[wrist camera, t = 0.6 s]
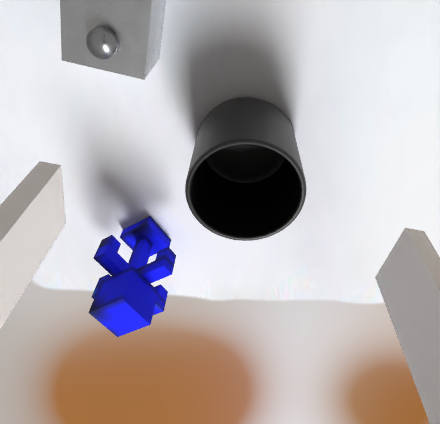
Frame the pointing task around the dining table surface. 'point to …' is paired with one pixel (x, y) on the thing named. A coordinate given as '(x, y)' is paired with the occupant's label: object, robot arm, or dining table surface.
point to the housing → (112, 34)
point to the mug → (245, 171)
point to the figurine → (132, 278)
